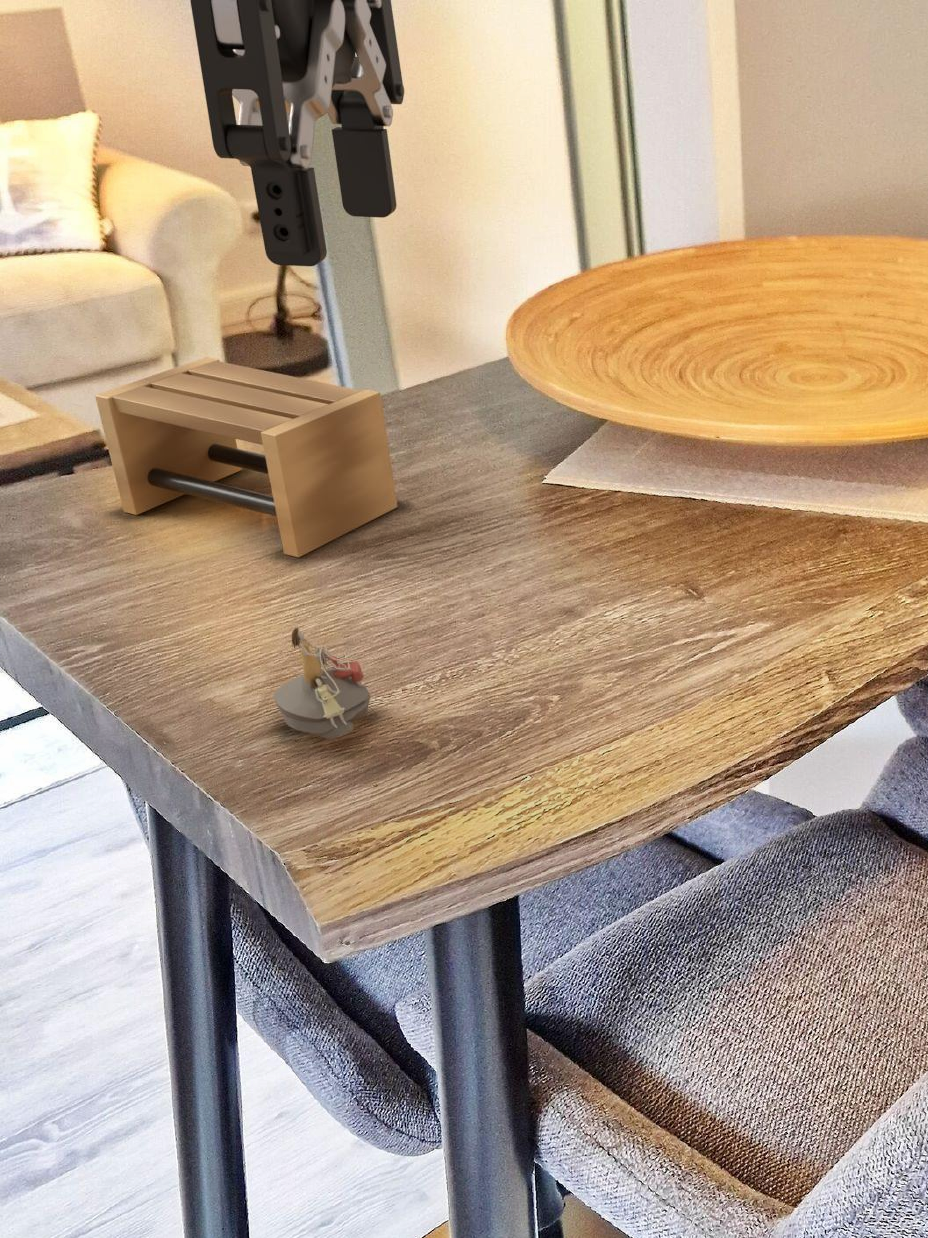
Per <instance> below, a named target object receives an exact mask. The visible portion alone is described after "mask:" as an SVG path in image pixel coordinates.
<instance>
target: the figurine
mask: <svg viewBox="0 0 928 1238" xmlns="http://www.w3.org/2000/svg"><path fill="white" fill-rule="evenodd" d="M290 636H291V639H290V641H291V647H293V648H294V649H296V648H299V649H300V657H301V658H300V659H301V664H302V673H303V674H301V675H299V676H297V677H295V678H293V679H291V680H288V681H287V682H285V683H283V684H282V685H280V686H279V687H277V688H276V690H275V691H274V694H273V700H274V702H275V704H276V706H277V708H278V710H279V711H280V712H281V717H282V719H283V721H284V723H285V724H286V725H287V726H288V727H290V728H291V729H293V730H296V731H298V732H304V733H308V734H310V735H313V736H316V737H319V738H322V739H336V738H339V737H340V738H341V737H342V736H345V735H347V734H349V733H350V732H353V730H354V729H355V728H354V726H355V725H354V724H353V723H355V722H357V721H358V720H359V719H361V718H362V717H363V716H364V715H365V714H367V713H368V711H369V705H370V701H371V693H370V692H369V689H368V688H367V685H366V684H365V683H362V682H361V681H364V678H365V675H364V673H363V670H362V667H361V666H360V663H359V662H358V661H357V660H355V661H353V660H352V661H351V660H349V657H348V652H349V651H351V650H352V647H351V648H348V649H346V650H344V652H343V655H340V656H336V655H334V654H332V653H331V652H330V650H329V649H328V648H325V647H324V646H322V645H321V646H316V645H314V644H311V642H310V641H309V640H308V639H307V638H306V637H305V635H304V632H303V631H301V630H300V628H299V627H296V628H294V629H293V630H292V632H291V634H290ZM310 647H311V648H313V649H316V650H315V653H313V652H312V650H310ZM342 658H345V659H346V660H345V661H343V662H341V660H340V659H342ZM329 664H330V665H331V666H332V668H329V667H330V665H329ZM326 667H327V668H326Z"/></svg>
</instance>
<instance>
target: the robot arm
mask: <svg viewBox="0 0 928 1238" xmlns="http://www.w3.org/2000/svg"><path fill="white" fill-rule="evenodd" d="M189 1H190V7H191V13H192V21H193V27H194V34H195V38H196V39H195V40H196V47H197V52H198V58H199V64H200V70H201V71H200V72H201V76H202V78H201V79H202V83H203V89H204V90H203V91H204V97H205V103H206V109H207V114H208V121H209V127H210V133H211V140H212V145H213V146H212V147H213V149H214V152H215V154H216V155H217V157H218V158H219V159H232V160H237V161H239V164H241V165H242V166H244V167H250V171H251V177H252V183H253V188H254V194H255V200H256V206H257V212H258V217H259V222H260V223H259V224H260V229H261V234H262V240H263V246H264V251H265V256H266V257H267V259H268V260H269V261H270V262H271V263H272V264H273V265H276V266H289V267H315V266H317V265H318V264H320V263H321V262H323V261H324V260H325V259H326V257H327V254H328V250H327V245H326V238H325V237H326V236H325V231H324V223H323V219H322V218H323V217H322V211H321V205H320V204H321V203H320V198H319V192H318V185H317V179H316V173H315V172H316V171H315V167H310V166H311V165H312V159H313V149H314V139H315V132H316V124H317V123H316V122H317V121H318V119H319V118H321V117H324V116H325V115H327V116H328V118H329V120H330V121H331V124H333V125H341V126H336V127H333V129H331V133H332V134H331V135H332V141H333V142H332V143H333V148H334V149H333V150H334V155H335V161H336V169H337V170H336V171H337V175H338V183H339V189H340V196H341V204H342V207H343V210H344V211H345V212H346V213H347V215H349V216H351V217H357V218H358V217H359V218H360V217H361V218H380V219H382V218H387V217H388V216H390V215H392V214H393V213H394V212H395V211H396V209H397V206H398V205H397V197H396V191H395V190H396V189H395V183H394V173H393V167H392V158H391V151H390V144H389V143H390V142H389V136H388V129H387V128H384V127H391V125H392V123H393V117H394V110H393V109H394V108H393V106H392V105H402V104H403V102H404V97H405V87H404V83H403V82H404V81H403V75H402V68H401V62H400V55H399V47H398V41H397V33H396V27H395V19H394V12H393V6H392V5H393V4H392V0H189ZM234 99H235V100H236V102H238V103H239V104H240V107H239V115H238V123H237V117H236V110H235V105H234V103H235V102H234ZM288 116H289V121H288Z"/></svg>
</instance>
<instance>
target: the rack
mask: <svg viewBox="0 0 928 1238" xmlns="http://www.w3.org/2000/svg"><path fill="white" fill-rule="evenodd" d="M94 397H95V403H96V406H97V409H98V413H99V418H100V422H101V425H102V430H103V434H104V437H105V441H106V445H107V449H108V453H109V454H108V455H109V458H110V462H111V465H112V469H113V474H114V479H115V482H116V486H117V489H118V493H119V494H118V495H119V498H120V502H121V506H122V510H123V512H124V513H127V514H130V515H135V516H138V515H140V514H142V513H145V512H147V511H149V510H152V509H155V508H157V507H159V506H161V505H163V504H165V503H168V502H170V501H173V500H175V499H178V498H180V497H182V496H185V495H188V496H192V497H196V498H200V499H204V500H208V501H212V502H215V503H216V502H217V503H221V504H225V505H229V506H233V507H237V508H240V509H244V510H248V511H253V512H257V513H261V514H265V515H269V516H273V517H276V519H277V523H278V524H277V525H278V529H279V534H280V540H281V544H282V551H283V554H284V555H288V556H291V557H294V558H301V557H303V556H304V555H307V554H309V553H310V552H312V551H314V550H317V549H318V548H320V547H322V546H324V545H326V544H329V542H332V541H334V540H336V539H337V538H340V537H342V536H344V535H346V534H348V533H350V532H352V531H353V530H356V529H357V528H359V527H361V526H364V525H365V524H367V523H369V522H371V521H373V520H376V519H377V518H379V517H380V516H381V517H382V516H383V515H385V514H387V513H389V512H391V511H393V510H395V509H396V508H397V509H398V500H397V495H396V493H397V492H396V488H395V480H394V475H393V473H394V472H393V467H392V461H391V460H392V459H391V454H390V447H389V441H388V434H387V427H386V421H385V415H384V407H383V402H382V395H381V392H380V391H376V390H372V389H368V388H367V389H363V390H360V389H356V388H351V387H346V386H341V385H337V384H332V383H326V382H321V381H316V380H312V379H307V378H304V377H298V376H294V375H293V376H292V375H288V374H283V373H278V372H273V371H268V370H263V369H259V368H254V367H249V366H245V365H244V366H243V365H239V364H234V363H230V362H229V363H228V362H223V361H220V359H218V358H214V357H208V356H205V357H203V358H199V359H197V360H194V361H191V362H187V363H185V364H182V365H178V366H176V367H173V368H170V369H167V370H164V371H161V372H159V373H155V374H152V375H150V376H147V377H144V378H141V379H138V380H135V381H131V382H130V383H126V384H123V385H120V386H117V387H115V388H112V389H109V390H106V391H103V392H100V393H97V394H95V395H94ZM237 440H240V441H244V442H248V443H251V444H252V443H253V444H255V445H256V444H257V445H260V446H262V448H263V453H264V454H261V453H257V452H254V451H249V450H245V449H242V448H241V449H240V448H238V445H237ZM243 469H244V470H247V471H248V470H249V471H253V472H257V473H260V474H261V473H262V474H266V475H268V477H269V482H270V483H269V484H270V487H271V494H272V495H270V494H265V493H262V492H258V491H253V490H250V489H249V490H248V489H246V488H241V487H237V486H232V485H229V484H225V483H221V482H218V481H219V480H223V479H224V478H226V477H229V476H231V475H234V474H236V473H238V472H241V471H242V470H243Z"/></svg>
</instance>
